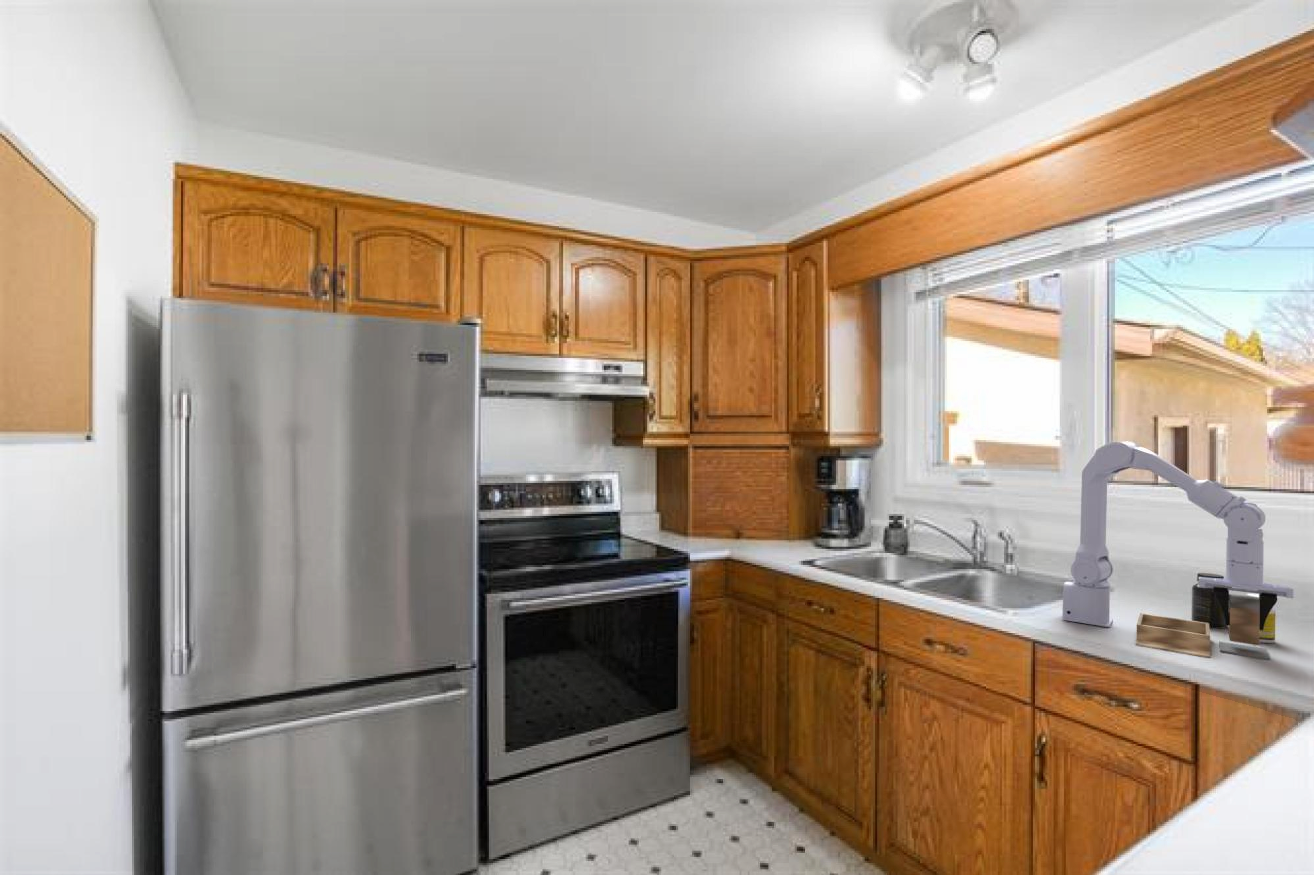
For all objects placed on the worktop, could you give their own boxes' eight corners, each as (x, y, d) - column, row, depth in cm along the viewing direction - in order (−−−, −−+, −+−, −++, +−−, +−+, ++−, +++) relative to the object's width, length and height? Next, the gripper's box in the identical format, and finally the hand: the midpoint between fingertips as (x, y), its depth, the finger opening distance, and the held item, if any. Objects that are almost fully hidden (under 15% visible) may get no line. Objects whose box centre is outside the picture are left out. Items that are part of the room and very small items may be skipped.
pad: (1220, 651, 134) (1220, 649, 134) (1219, 643, 140) (1219, 641, 140) (1269, 660, 129) (1269, 658, 129) (1266, 650, 135) (1266, 648, 135)
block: (1229, 640, 134) (1230, 597, 134) (1228, 635, 138) (1229, 593, 138) (1259, 645, 131) (1259, 601, 131) (1257, 640, 135) (1258, 597, 135)
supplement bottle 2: (1281, 644, 139) (1282, 599, 139) (1252, 642, 140) (1253, 597, 140) (1263, 636, 145) (1264, 593, 145) (1235, 635, 146) (1236, 591, 146)
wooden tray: (1135, 644, 138) (1135, 628, 138) (1141, 624, 153) (1141, 609, 153) (1210, 657, 130) (1210, 640, 130) (1208, 634, 146) (1208, 619, 146)
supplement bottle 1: (1236, 629, 150) (1237, 578, 150) (1203, 628, 151) (1204, 577, 151) (1215, 621, 157) (1216, 572, 157) (1184, 619, 158) (1185, 571, 158)
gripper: (1199, 559, 136) (1198, 624, 136) (1295, 569, 127) (1294, 638, 127) (1198, 555, 141) (1198, 617, 141) (1291, 564, 132) (1290, 630, 132)
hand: (1243, 626), depth 134 cm, fingers closed on block, 4 cm apart
